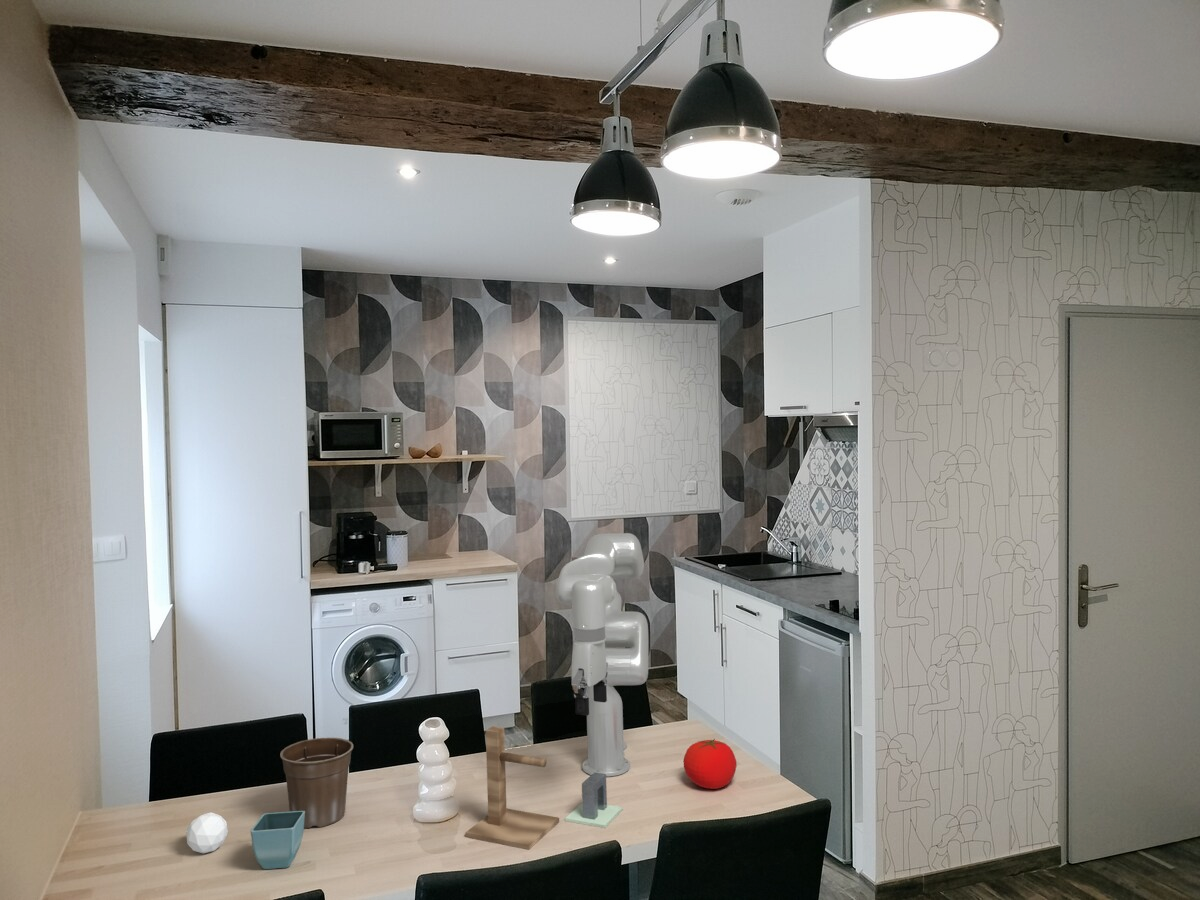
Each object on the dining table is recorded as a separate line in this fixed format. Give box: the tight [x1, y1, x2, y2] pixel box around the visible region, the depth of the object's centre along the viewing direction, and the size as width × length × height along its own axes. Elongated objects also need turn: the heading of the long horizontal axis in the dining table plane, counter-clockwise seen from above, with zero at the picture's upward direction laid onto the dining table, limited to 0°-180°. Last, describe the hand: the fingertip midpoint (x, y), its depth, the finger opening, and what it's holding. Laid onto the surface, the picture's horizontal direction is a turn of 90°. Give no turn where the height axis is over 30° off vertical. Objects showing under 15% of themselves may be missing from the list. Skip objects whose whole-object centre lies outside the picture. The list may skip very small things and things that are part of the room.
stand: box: [464, 725, 560, 850], centre depth 186 cm, size 14×16×22 cm
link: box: [581, 772, 608, 820], centre depth 192 cm, size 7×3×8 cm, turn 156°
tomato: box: [683, 738, 738, 790], centre depth 208 cm, size 12×13×11 cm
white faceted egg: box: [186, 811, 229, 854], centre depth 181 cm, size 8×8×12 cm
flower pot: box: [250, 811, 305, 870], centre depth 174 cm, size 9×9×9 cm
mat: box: [564, 802, 624, 829], centre depth 192 cm, size 10×10×1 cm
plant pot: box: [279, 737, 354, 829], centre depth 195 cm, size 16×16×16 cm
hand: (591, 707), depth 193 cm, fingers open, 9 cm apart
